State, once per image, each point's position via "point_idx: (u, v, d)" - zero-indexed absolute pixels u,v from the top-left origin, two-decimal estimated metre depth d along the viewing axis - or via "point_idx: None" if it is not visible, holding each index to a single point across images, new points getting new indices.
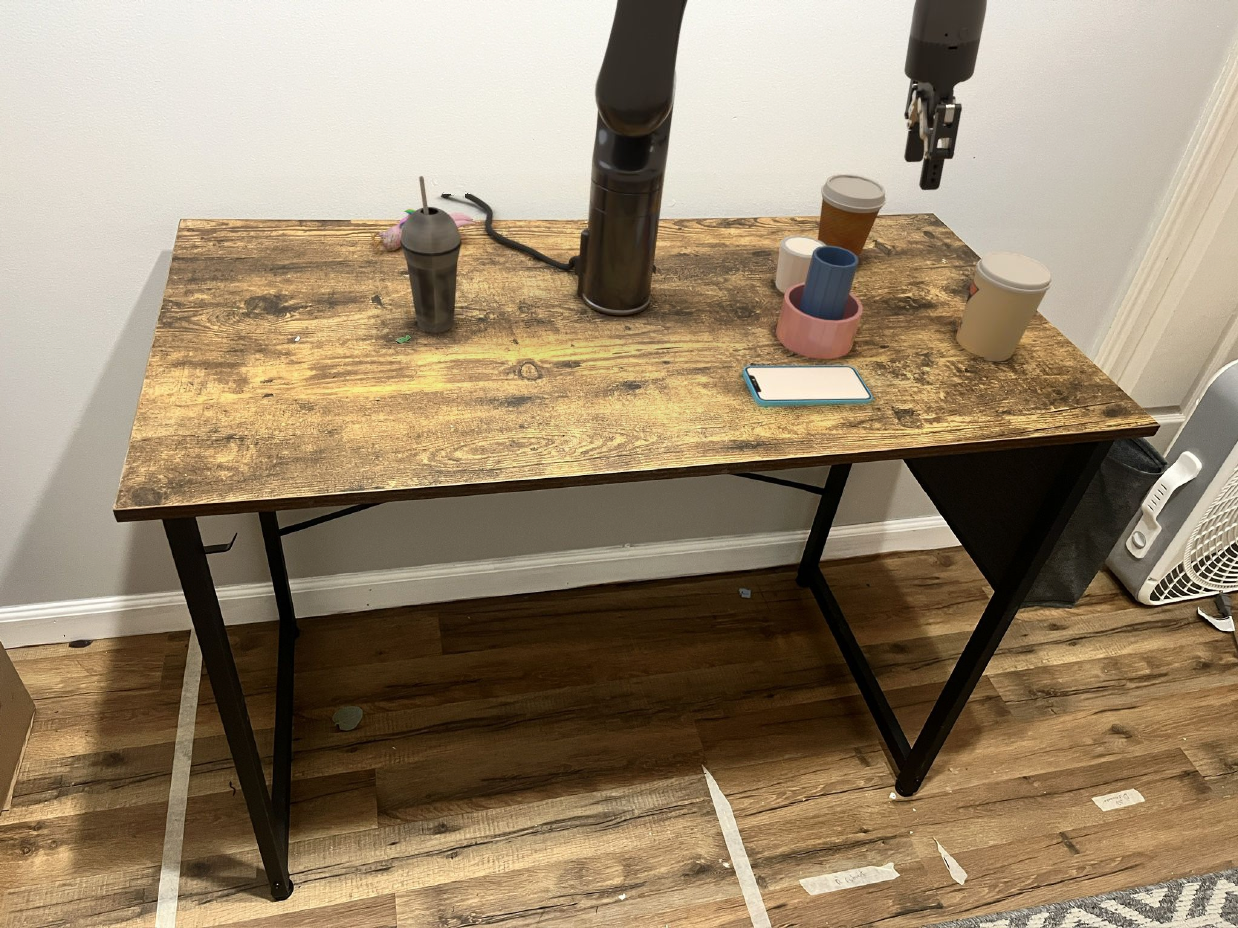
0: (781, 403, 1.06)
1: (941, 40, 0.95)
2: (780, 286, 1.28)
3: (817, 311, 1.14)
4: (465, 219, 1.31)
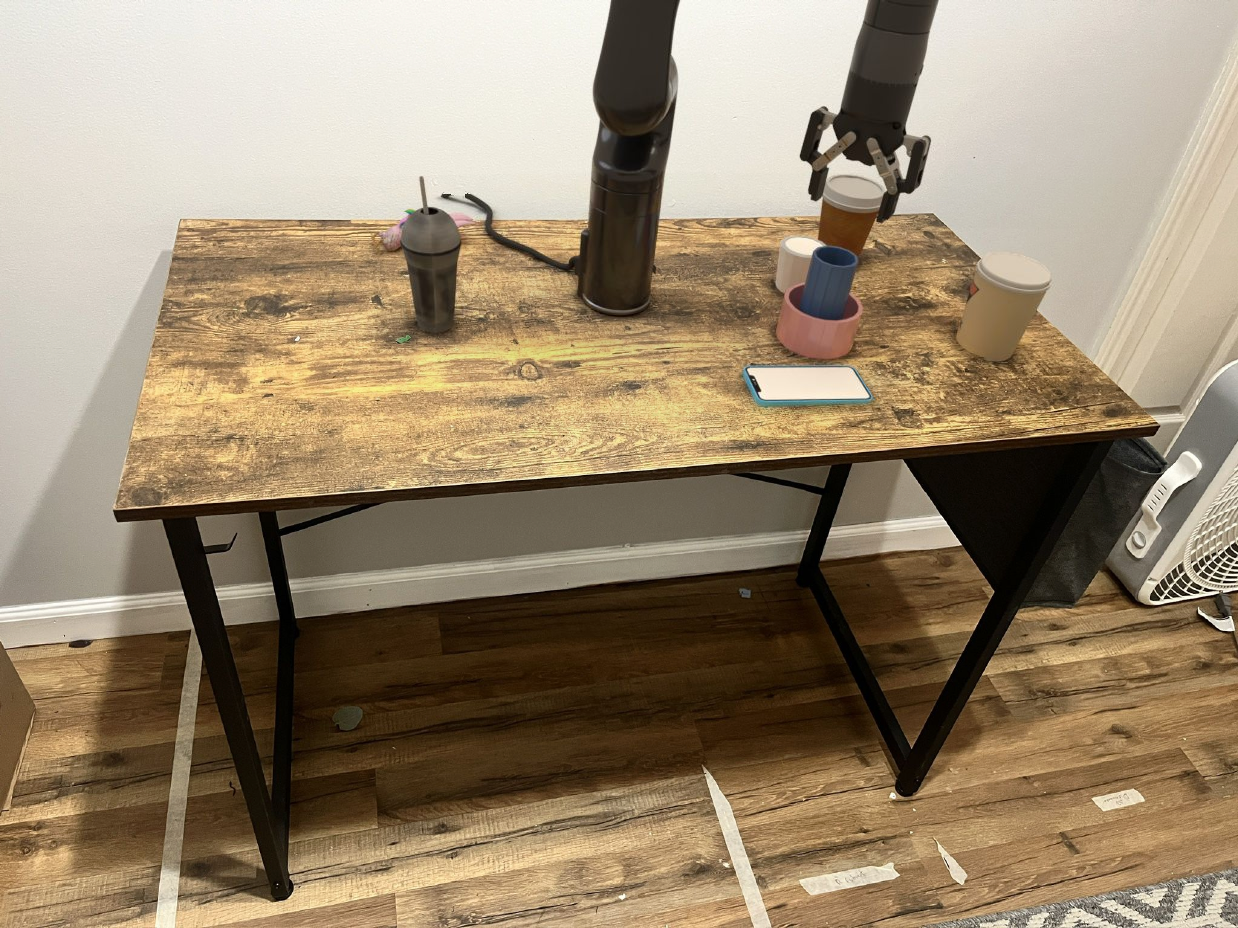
0: (781, 403, 1.06)
1: (911, 80, 0.95)
2: (780, 286, 1.28)
3: (817, 311, 1.14)
4: (465, 219, 1.31)
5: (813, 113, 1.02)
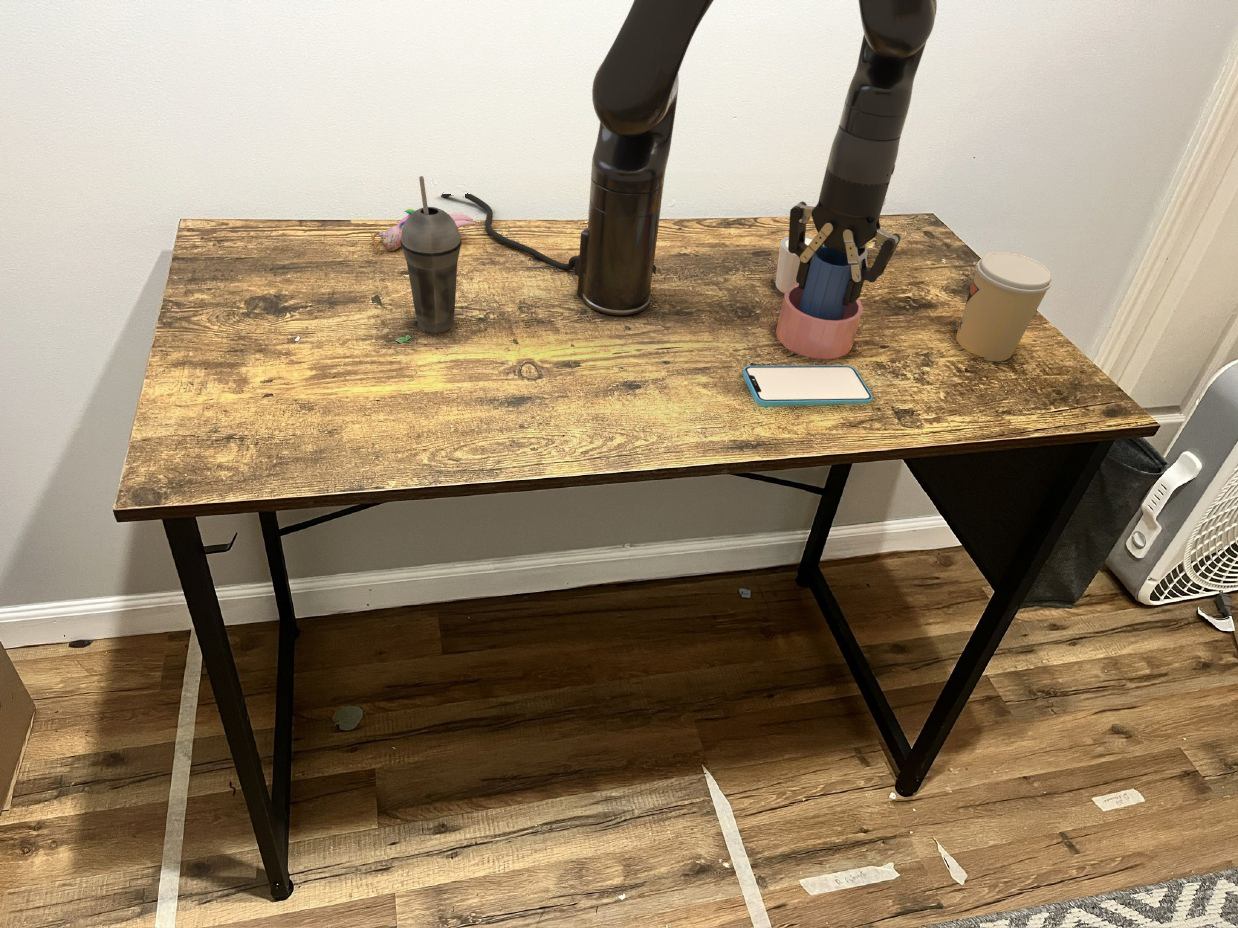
0: (781, 403, 1.06)
1: (883, 180, 1.02)
2: (780, 286, 1.28)
3: (817, 311, 1.14)
4: (465, 219, 1.31)
5: (792, 209, 1.10)
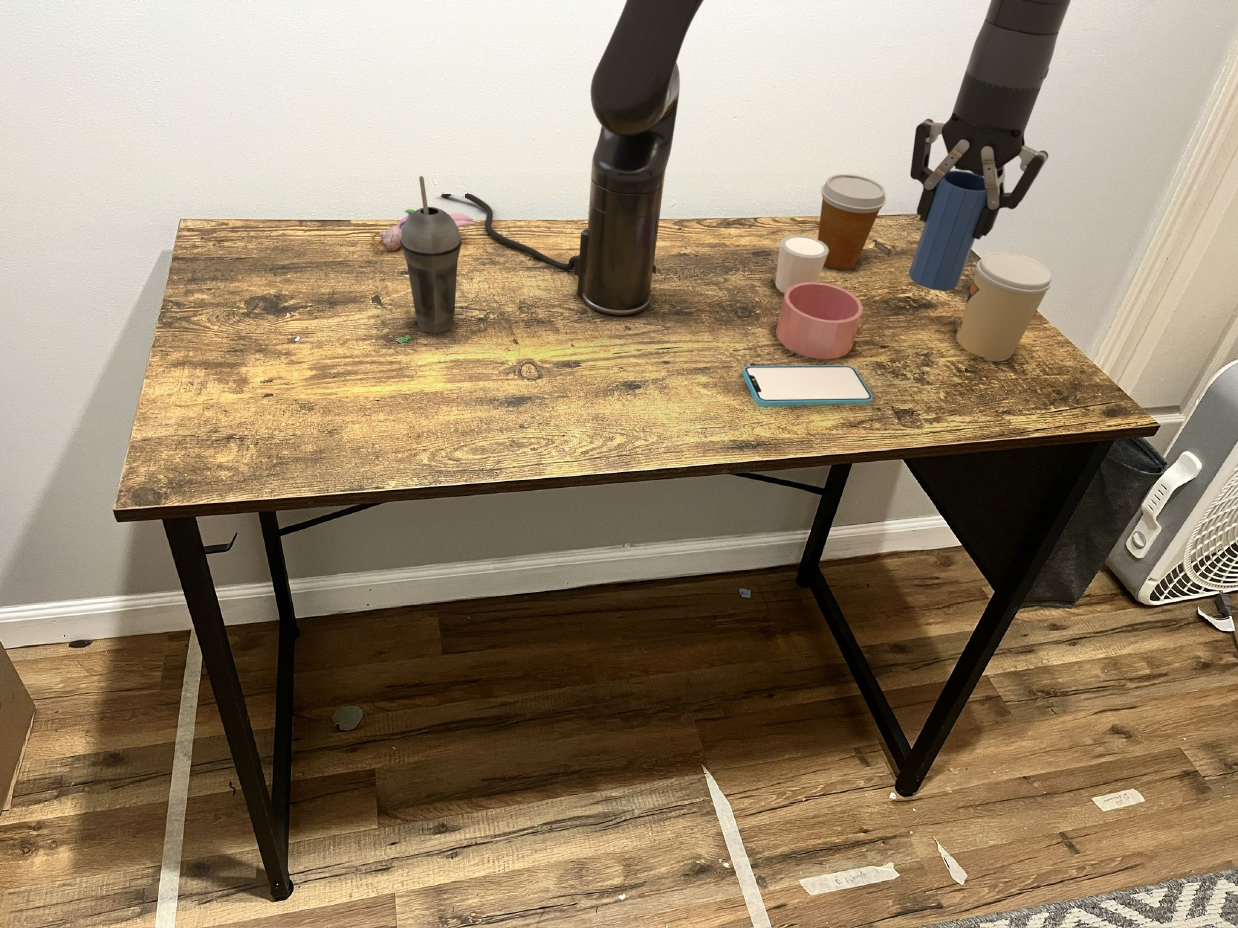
0: (781, 403, 1.06)
1: (1036, 84, 0.88)
2: (780, 286, 1.28)
3: (943, 245, 0.99)
4: (465, 219, 1.31)
5: (918, 127, 0.96)
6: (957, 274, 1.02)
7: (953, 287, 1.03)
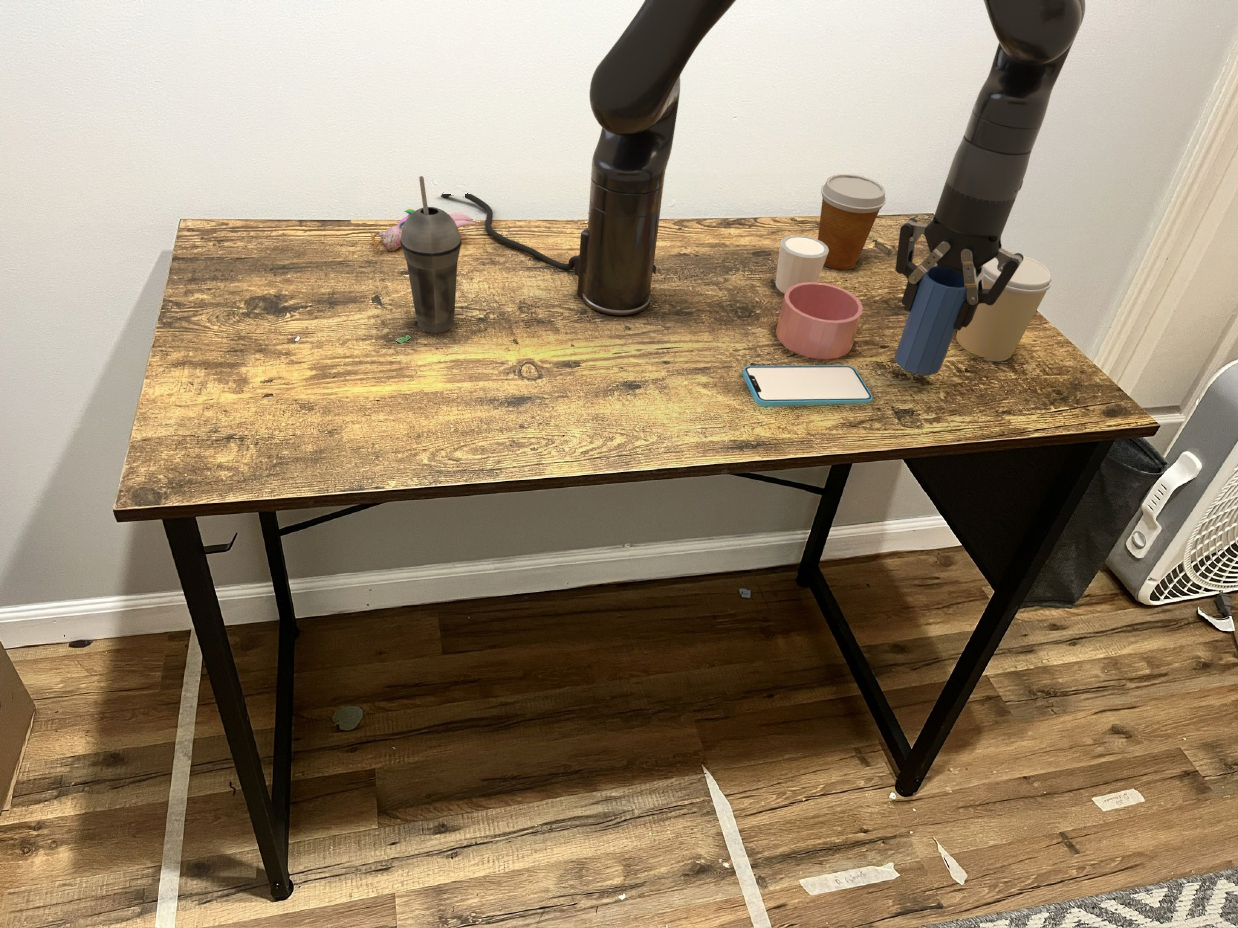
0: (781, 403, 1.06)
1: (1011, 196, 0.94)
2: (780, 286, 1.28)
3: (926, 335, 1.06)
4: (465, 219, 1.31)
5: (902, 227, 1.02)
6: (940, 360, 1.08)
7: (936, 371, 1.09)
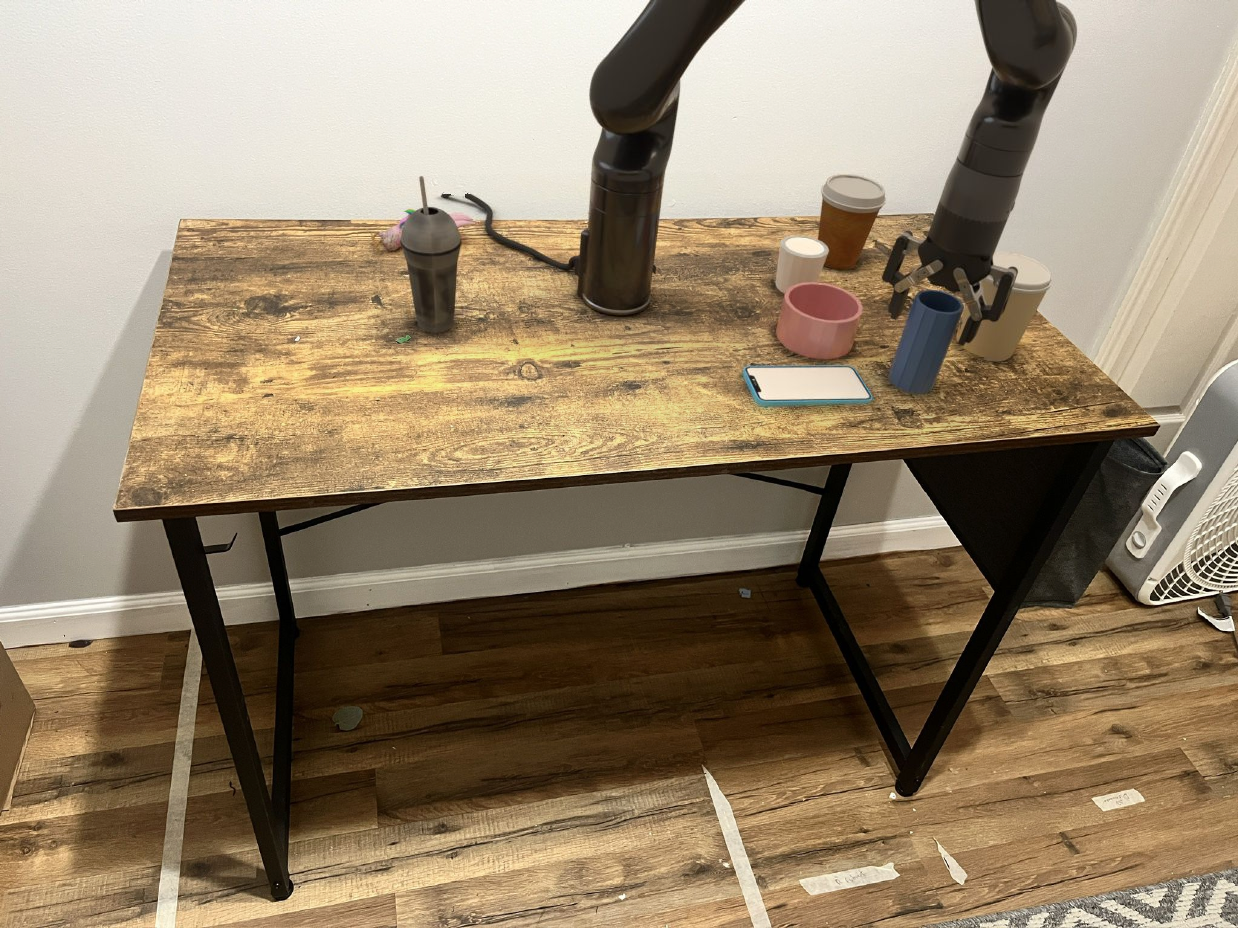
0: (781, 403, 1.06)
1: (1003, 217, 0.95)
2: (780, 286, 1.28)
3: (918, 358, 1.08)
4: (465, 219, 1.31)
5: (899, 239, 1.03)
6: (931, 382, 1.10)
7: None
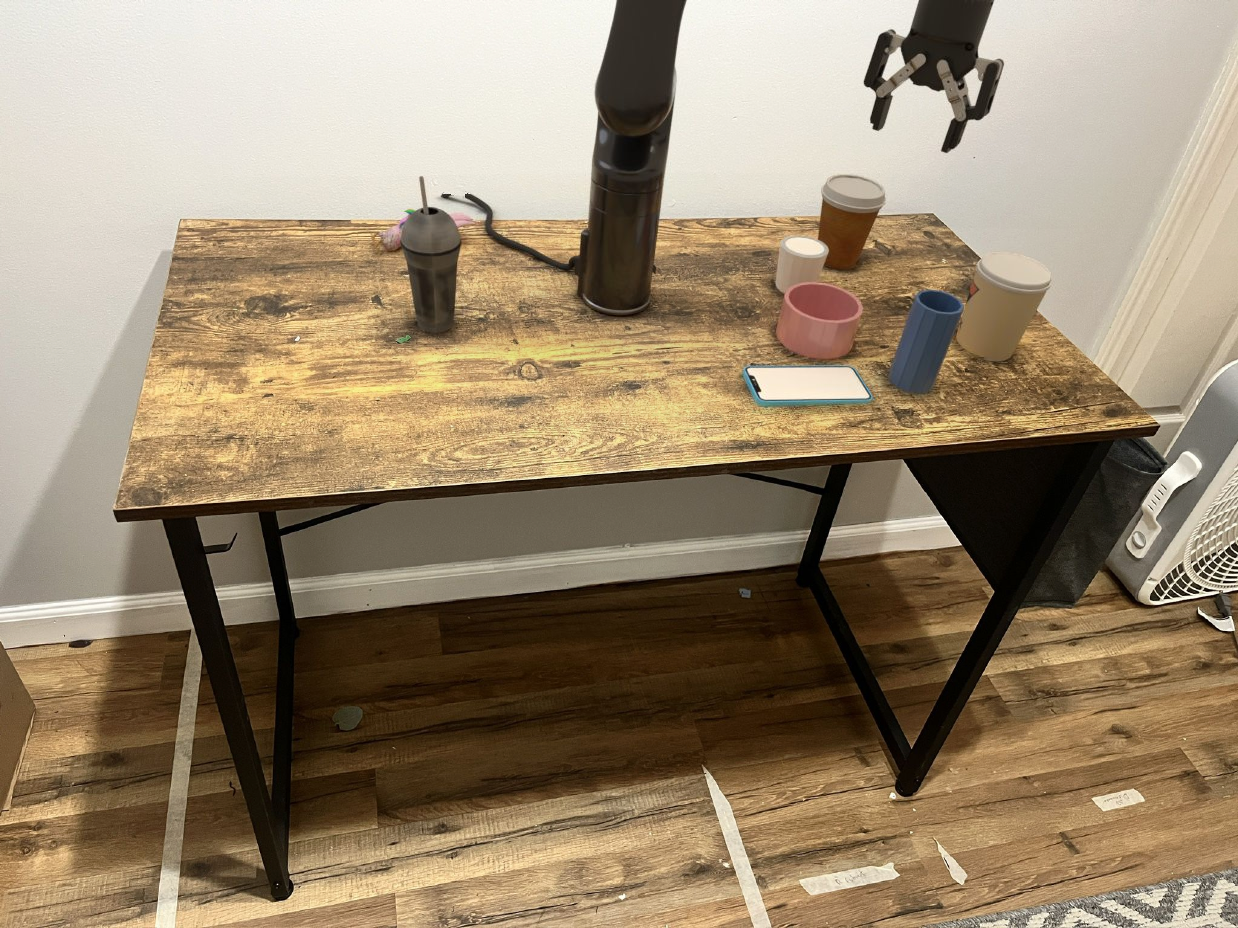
0: (781, 403, 1.06)
1: None
2: (780, 286, 1.28)
3: (918, 358, 1.08)
4: (465, 219, 1.31)
5: (881, 35, 0.99)
6: (931, 382, 1.10)
7: None
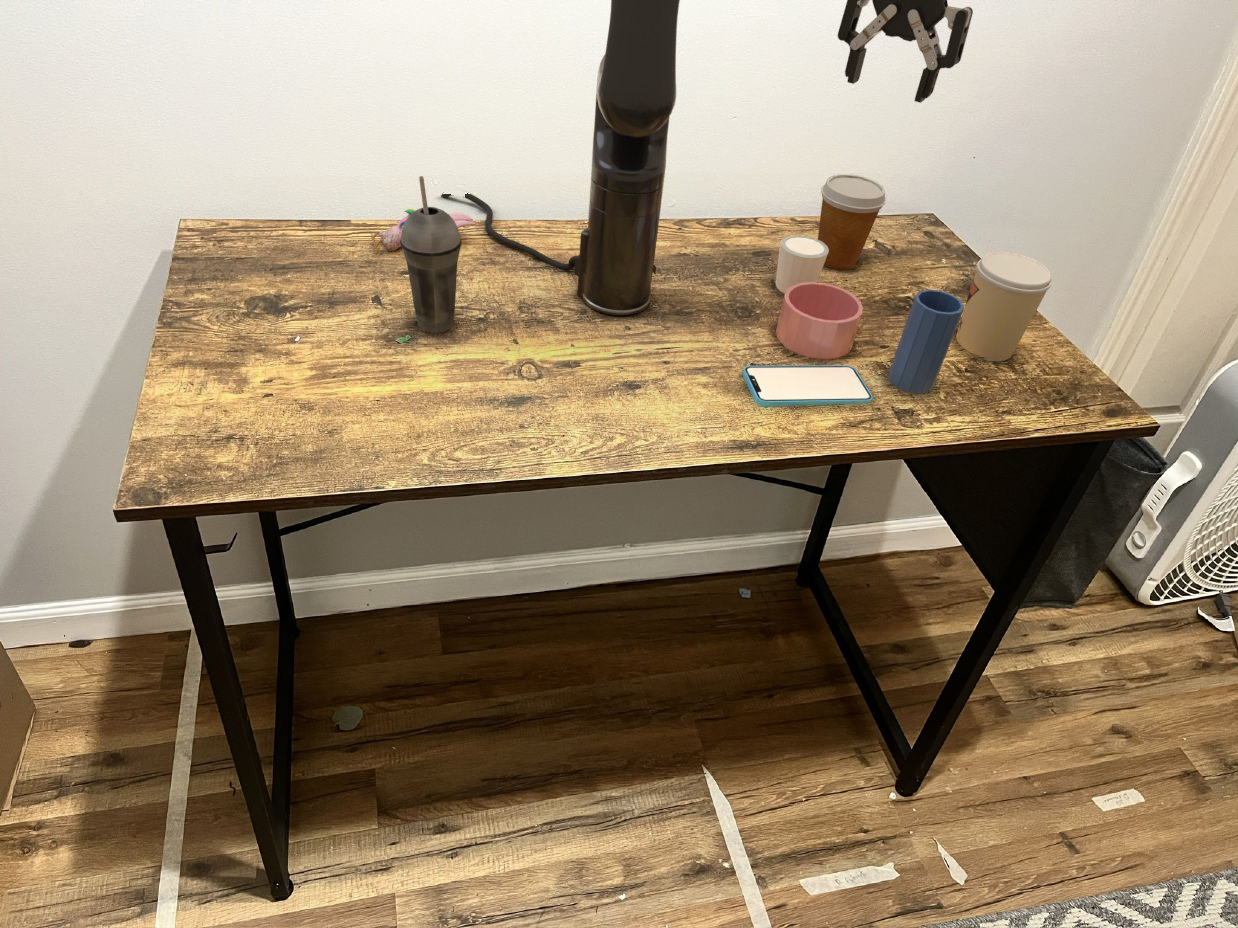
0: (781, 403, 1.06)
1: None
2: (780, 286, 1.28)
3: (918, 358, 1.08)
4: (465, 219, 1.31)
5: None
6: (931, 382, 1.10)
7: None
